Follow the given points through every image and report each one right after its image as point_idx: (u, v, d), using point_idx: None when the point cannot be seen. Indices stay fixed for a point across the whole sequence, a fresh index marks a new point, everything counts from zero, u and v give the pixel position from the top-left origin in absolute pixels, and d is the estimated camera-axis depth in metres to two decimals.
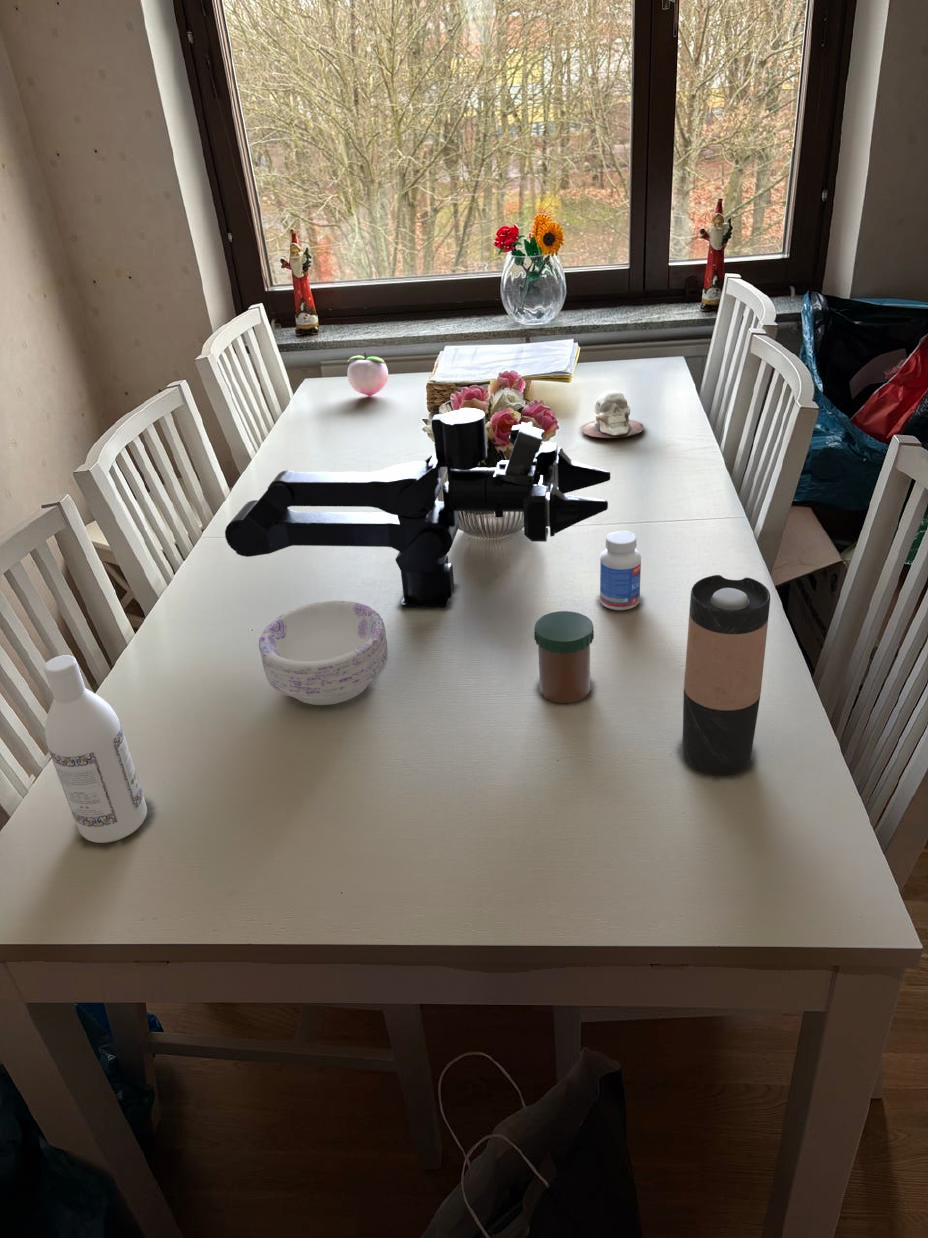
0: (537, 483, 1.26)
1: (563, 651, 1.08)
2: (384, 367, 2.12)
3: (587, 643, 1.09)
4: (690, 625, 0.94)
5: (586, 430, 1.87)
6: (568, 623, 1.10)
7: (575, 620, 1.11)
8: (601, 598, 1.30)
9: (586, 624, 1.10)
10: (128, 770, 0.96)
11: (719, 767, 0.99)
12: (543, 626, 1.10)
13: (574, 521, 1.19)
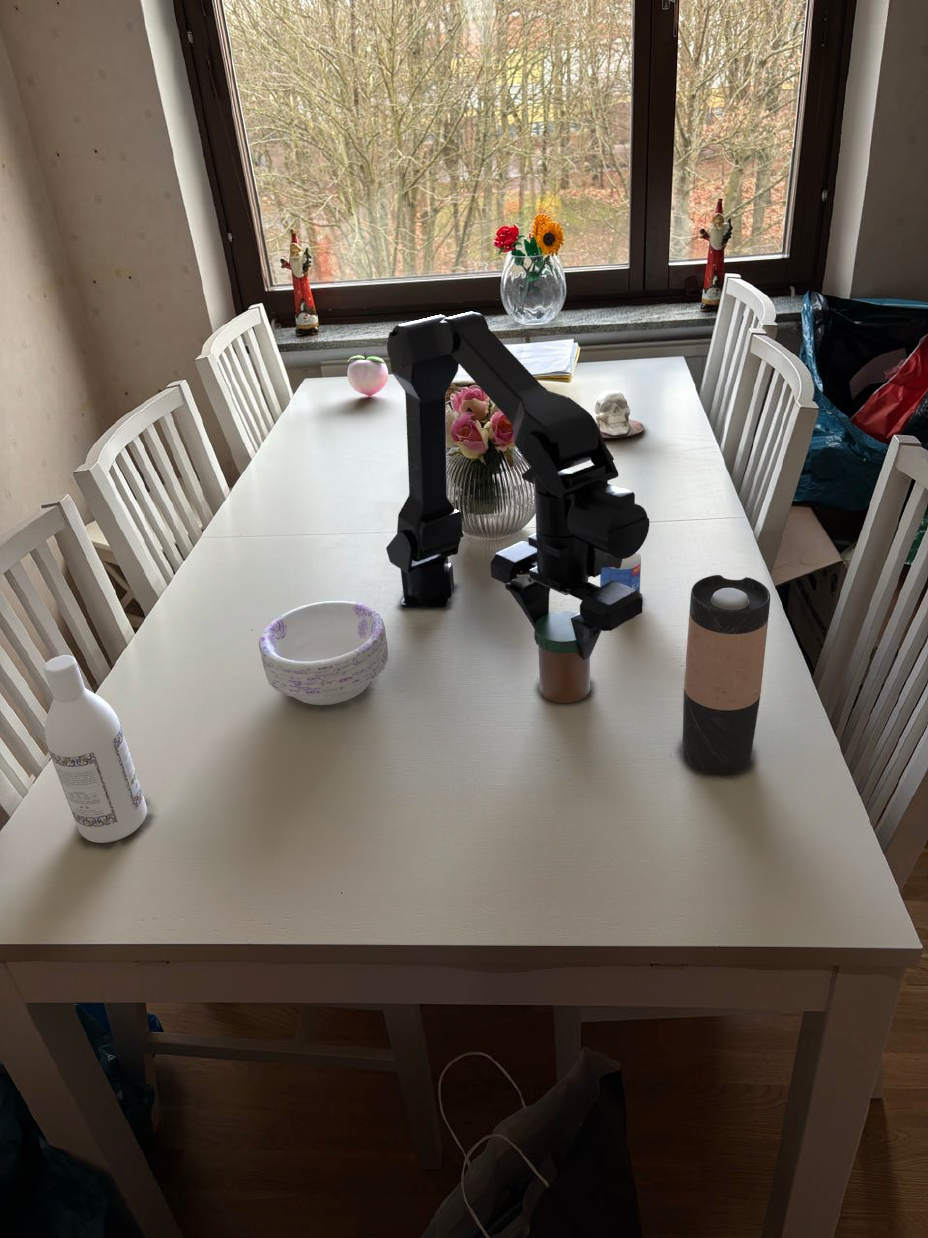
0: None
1: (563, 651, 1.08)
2: (384, 367, 2.12)
3: None
4: (690, 625, 0.94)
5: None
6: (568, 623, 1.10)
7: None
8: None
9: None
10: (128, 770, 0.96)
11: (719, 767, 0.99)
12: (543, 626, 1.10)
13: (585, 638, 1.05)
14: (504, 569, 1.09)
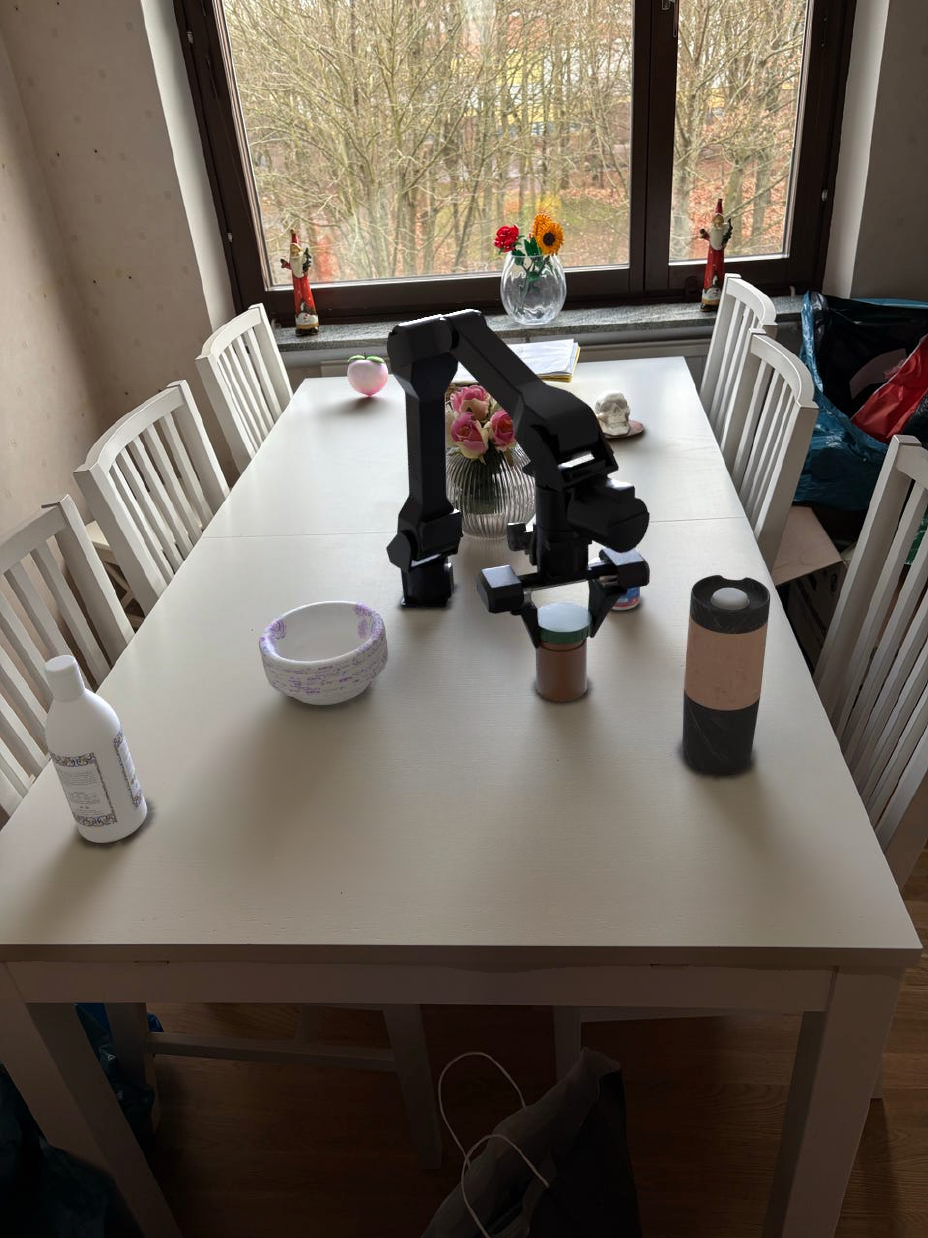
0: None
1: None
2: (384, 367, 2.12)
3: None
4: (690, 625, 0.94)
5: None
6: (556, 616, 1.10)
7: (547, 614, 1.10)
8: None
9: (548, 607, 1.11)
10: (128, 770, 0.96)
11: (719, 767, 0.99)
12: (575, 625, 1.08)
13: None
14: (516, 594, 1.03)
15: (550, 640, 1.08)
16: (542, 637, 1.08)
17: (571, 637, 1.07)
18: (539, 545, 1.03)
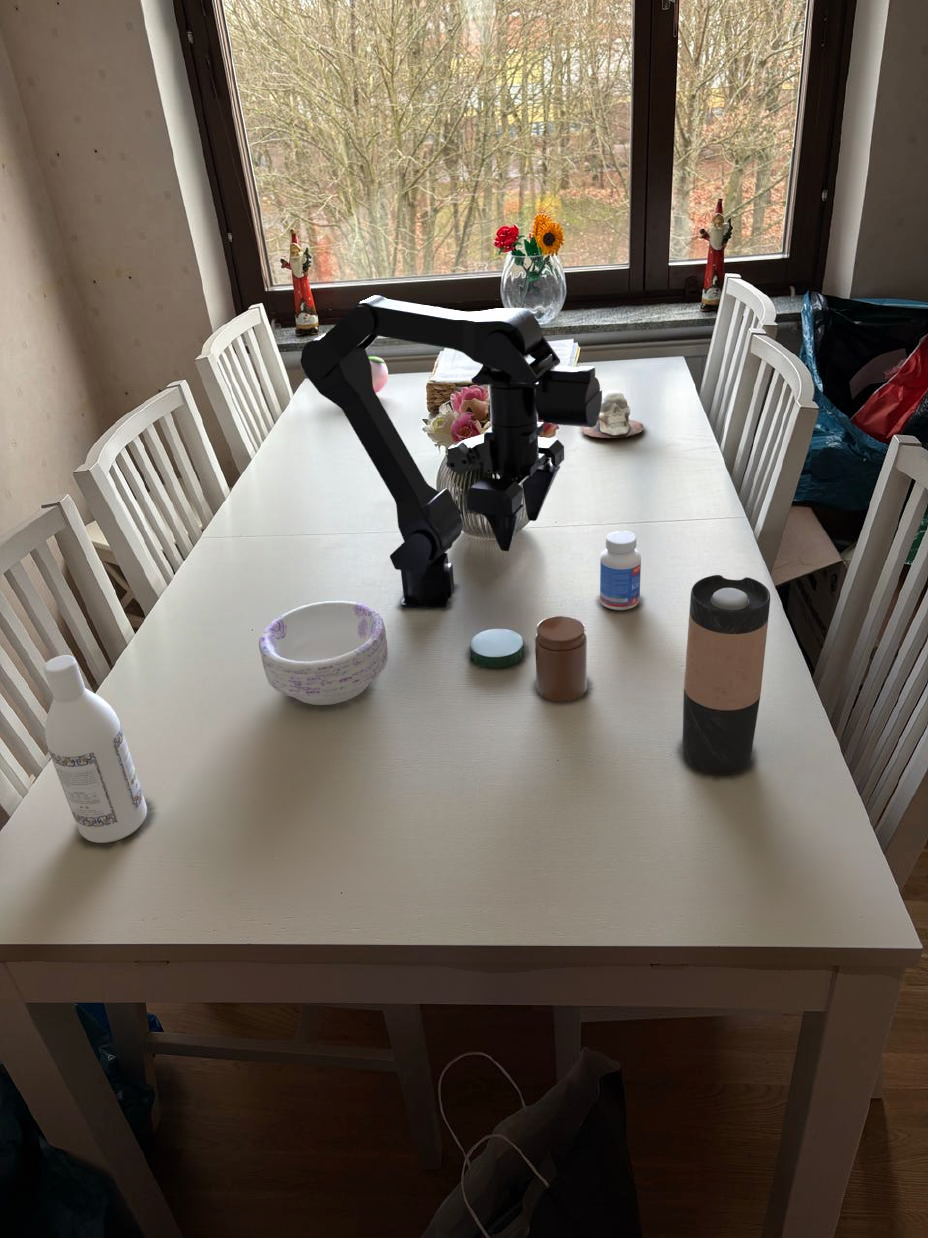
0: None
1: None
2: (384, 367, 2.12)
3: None
4: (690, 625, 0.94)
5: (586, 430, 1.87)
6: (490, 642, 1.21)
7: (482, 643, 1.21)
8: (601, 598, 1.30)
9: (480, 636, 1.23)
10: (128, 770, 0.96)
11: (719, 767, 0.99)
12: (510, 648, 1.20)
13: None
14: (519, 491, 1.13)
15: (492, 666, 1.19)
16: (484, 664, 1.20)
17: (510, 659, 1.19)
18: (510, 445, 1.15)
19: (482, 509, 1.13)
